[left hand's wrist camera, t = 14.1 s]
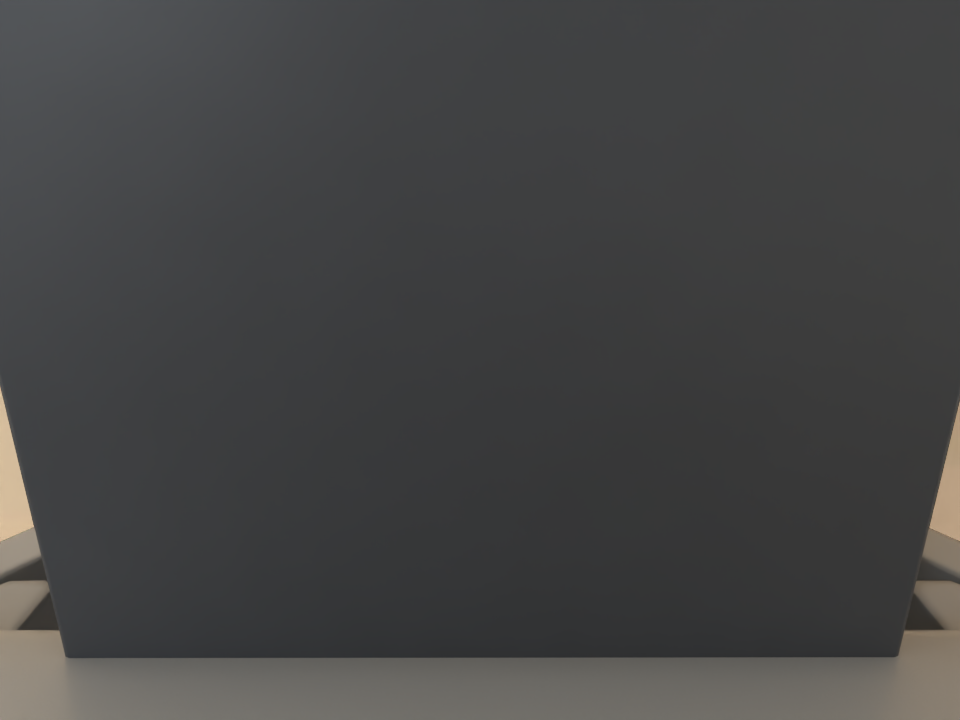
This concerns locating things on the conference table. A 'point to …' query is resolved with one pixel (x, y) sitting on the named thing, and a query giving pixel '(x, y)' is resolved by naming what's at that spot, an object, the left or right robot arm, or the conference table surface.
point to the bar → (480, 322)
